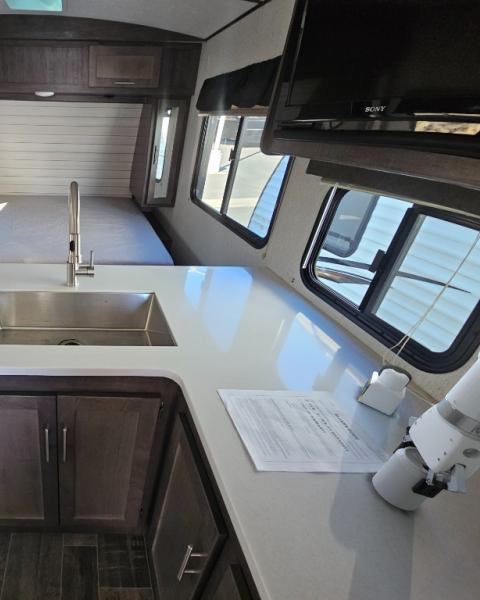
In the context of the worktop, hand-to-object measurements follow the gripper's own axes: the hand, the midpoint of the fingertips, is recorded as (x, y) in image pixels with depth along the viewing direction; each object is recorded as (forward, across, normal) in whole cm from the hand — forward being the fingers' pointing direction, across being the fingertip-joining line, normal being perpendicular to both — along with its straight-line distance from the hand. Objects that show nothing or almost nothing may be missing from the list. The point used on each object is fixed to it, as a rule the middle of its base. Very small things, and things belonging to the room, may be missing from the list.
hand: (411, 474), depth 65 cm
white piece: (+7, +30, -7) cm, 32 cm away
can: (+7, 0, 0) cm, 7 cm away
